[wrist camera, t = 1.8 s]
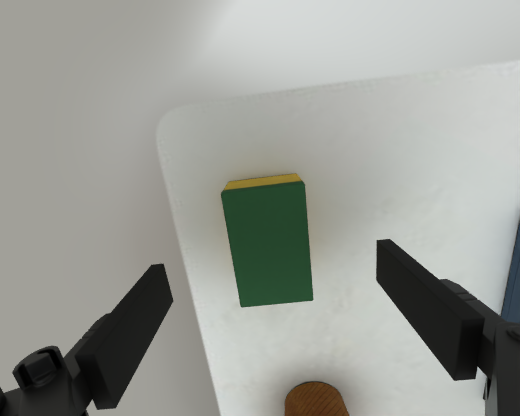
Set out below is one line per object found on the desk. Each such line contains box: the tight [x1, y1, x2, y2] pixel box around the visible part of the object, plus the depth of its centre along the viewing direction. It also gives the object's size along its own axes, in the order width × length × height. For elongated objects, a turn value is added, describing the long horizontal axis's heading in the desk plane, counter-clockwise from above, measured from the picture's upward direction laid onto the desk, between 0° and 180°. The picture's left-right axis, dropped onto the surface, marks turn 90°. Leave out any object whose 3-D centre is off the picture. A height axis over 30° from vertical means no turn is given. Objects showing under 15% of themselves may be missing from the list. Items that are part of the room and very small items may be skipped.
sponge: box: [221, 173, 313, 307], centre depth 19 cm, size 9×6×4 cm, turn 7°
